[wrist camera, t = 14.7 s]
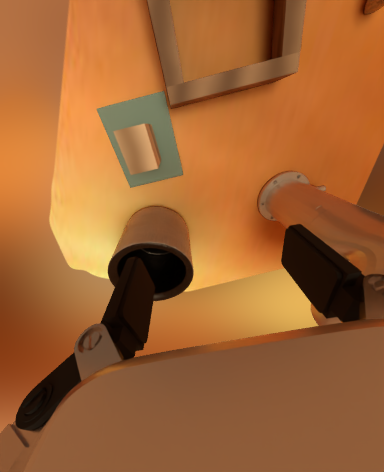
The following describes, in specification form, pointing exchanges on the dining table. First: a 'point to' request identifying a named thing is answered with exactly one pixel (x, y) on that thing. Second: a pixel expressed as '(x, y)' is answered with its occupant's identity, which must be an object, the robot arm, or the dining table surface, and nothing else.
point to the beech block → (139, 148)
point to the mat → (157, 114)
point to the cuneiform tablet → (373, 6)
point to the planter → (156, 250)
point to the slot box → (280, 66)
